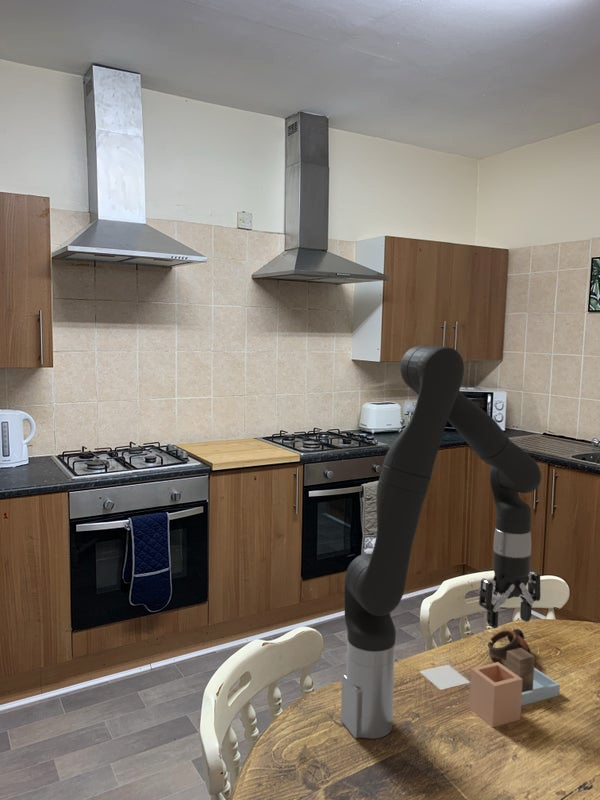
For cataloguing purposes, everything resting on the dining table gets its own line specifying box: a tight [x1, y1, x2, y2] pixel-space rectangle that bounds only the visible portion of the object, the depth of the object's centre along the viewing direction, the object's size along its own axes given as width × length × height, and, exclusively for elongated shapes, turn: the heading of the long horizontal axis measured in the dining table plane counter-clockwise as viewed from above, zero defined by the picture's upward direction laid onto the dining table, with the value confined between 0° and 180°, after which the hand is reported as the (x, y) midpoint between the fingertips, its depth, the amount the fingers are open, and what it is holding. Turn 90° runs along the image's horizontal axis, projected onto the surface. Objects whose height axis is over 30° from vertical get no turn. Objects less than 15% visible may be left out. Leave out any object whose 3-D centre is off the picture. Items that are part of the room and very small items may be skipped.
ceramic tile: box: [418, 664, 470, 691], centre depth 137 cm, size 8×8×1 cm
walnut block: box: [505, 648, 536, 692], centre depth 132 cm, size 4×4×8 cm
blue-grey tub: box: [521, 667, 561, 707], centre depth 132 cm, size 13×10×3 cm
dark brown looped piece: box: [487, 628, 532, 661], centre depth 146 cm, size 12×10×8 cm
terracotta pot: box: [468, 661, 523, 728], centre depth 123 cm, size 7×7×9 cm
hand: (509, 623), depth 131 cm, fingers open, 8 cm apart
